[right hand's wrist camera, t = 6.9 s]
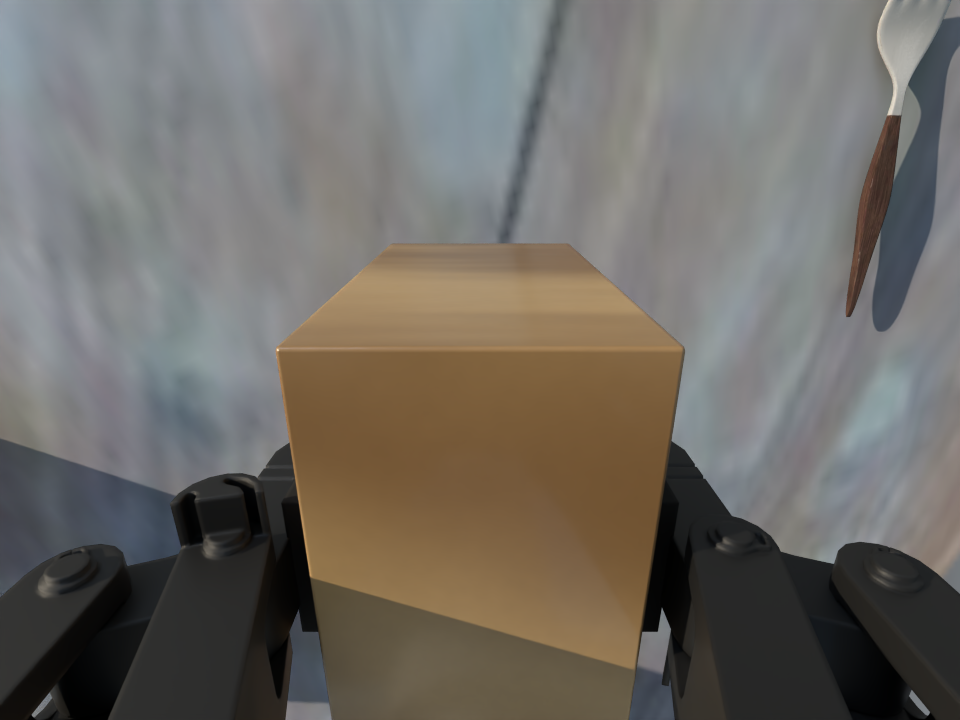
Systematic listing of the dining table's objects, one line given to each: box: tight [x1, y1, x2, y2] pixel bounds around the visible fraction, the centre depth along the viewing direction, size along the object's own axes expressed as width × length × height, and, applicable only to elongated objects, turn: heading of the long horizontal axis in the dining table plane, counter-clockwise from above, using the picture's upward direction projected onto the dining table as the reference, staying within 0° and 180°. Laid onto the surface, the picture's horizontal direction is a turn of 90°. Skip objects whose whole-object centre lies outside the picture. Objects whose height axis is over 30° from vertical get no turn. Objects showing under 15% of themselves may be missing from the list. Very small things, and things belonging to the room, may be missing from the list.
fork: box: [846, 0, 951, 317], centre depth 22 cm, size 3×16×2 cm, turn 2°
